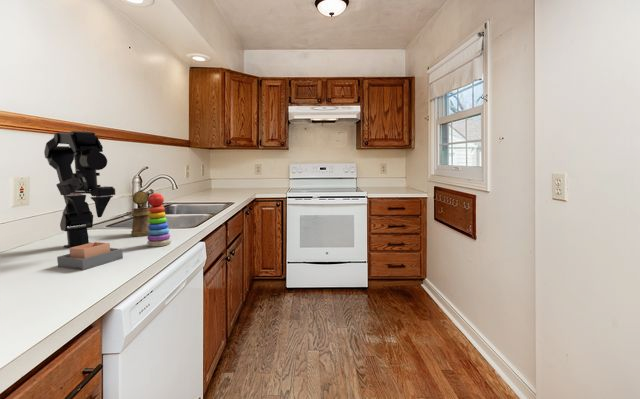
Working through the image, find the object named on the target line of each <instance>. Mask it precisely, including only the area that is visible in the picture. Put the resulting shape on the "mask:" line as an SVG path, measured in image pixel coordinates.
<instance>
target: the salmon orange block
mask: <svg viewBox="0 0 640 399" xmlns="http://www.w3.org/2000/svg"><path fill="white" fill-rule="evenodd" d="M68 248H69V254H70V257H72V258H80V259H85V258H88V257H92V256H96V255H99V254H103V253H107V252H110V248H111V244H110V243H109V242H101V241H94V242H93V241H92V242H91V243H89V244H84V245H80V246H76V247H72V248H71V247H68Z"/></svg>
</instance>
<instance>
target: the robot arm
mask: <svg viewBox="0 0 640 399" xmlns="http://www.w3.org/2000/svg"><path fill="white" fill-rule="evenodd" d="M59 144H60V145H59ZM61 145H62V146H61ZM64 145H65V146H64ZM66 145H68V146H66ZM103 149H104V148H103V145H102V143H101V141H100V139H99V138H98V136H97V135H96V133H95V132H94V131H80V130H79V131H77V130H72V131H69V132H63V131H62V132H60V131H59V132H54V135H53V137H52V138H51V139H49V140H48V141H47V142H46V143H45V147H44V152H43V153H44V158H45V159H46V160H47V163H48V165H49V166H50V167H52V168H53V169H54V170H56V173H57V177H58V181H59V183H57V184H55V185H56V188H57V189H58V191H59V194H60V196H63V199H64V202H65V207H64V209H63V211H62V216H61V218H60V223H59V226H60V227H59V228H60V230H61V231H62V232H66V236H67V237H66V238H67V244H64V245H63V248H72V247H76V246H80V245H84V244H89V243H92V242H91V241H89V233H88V229H91V228H93V225H94V215H93V213H92V210H90V206H89V203H88V202H87V201H86V198H87V195H88V194H89V195H91V197H90V196H89V198H90V199H91V200H92V201H93V202H94V205H95V212H96V216H97V218H102V217H103V214H104V212H105V210H106V209H107V208H106V207H107V206H108V204H109V203H110V200H111V198H114V196H116V189H115V188H114V187H113V186H106V185H104V186H101V184H98V177H99V176H101V175H100V172H97V171H100V170H103V169H105V168H106V167H107V165H108V159H107V157H106V155H105V154H104V153H103V151H104V150H103ZM72 163H74V170H75V172H73V168H72Z"/></svg>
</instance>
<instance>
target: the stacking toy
mask: <svg viewBox="0 0 640 399" xmlns="http://www.w3.org/2000/svg"><path fill="white" fill-rule="evenodd" d="M164 201H165V199H164V196H163V195H162V194H160V193H157V192H155V193H154V192H153V193H152V194H149V195H148V201H147V202H148V204H149V207H148V208H149V211H150V212H151V213H150V214H149V215H148V216H149V218H150V219H149V220H148V222H149V223H150V224H149V225H148V228H149V230H148V234H149V235H148V236H146V237H147V238H146V239H147V243H146V244H147V246H149V247H152V248H153V247H154V248H155V247H156V248H157V247H164V246H168V245H170V244H172V238H171V234H170V228H169V224H168V222H167V221H168V220H167V218H166V212H165V206H163V204H164Z"/></svg>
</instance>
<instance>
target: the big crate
mask: <svg viewBox="0 0 640 399" xmlns="http://www.w3.org/2000/svg"><path fill="white" fill-rule="evenodd" d="M123 253H124V252H123V248H116V247H110V252H107V253H103V254H99V255H96V256H92V257H88V258H85V259H80V258H72V257H70V253H67V254H63V255H59V256H57V258H56V259H57V267H58V268H64V269H69V270H70V269H72V270H77V271H79V270H80V271H86V270H88V269H92V268H95V267H99V266H102V265H106V264H109V263H112V262H115V261H119V260H122V259H123V258H124V255H123Z"/></svg>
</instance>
